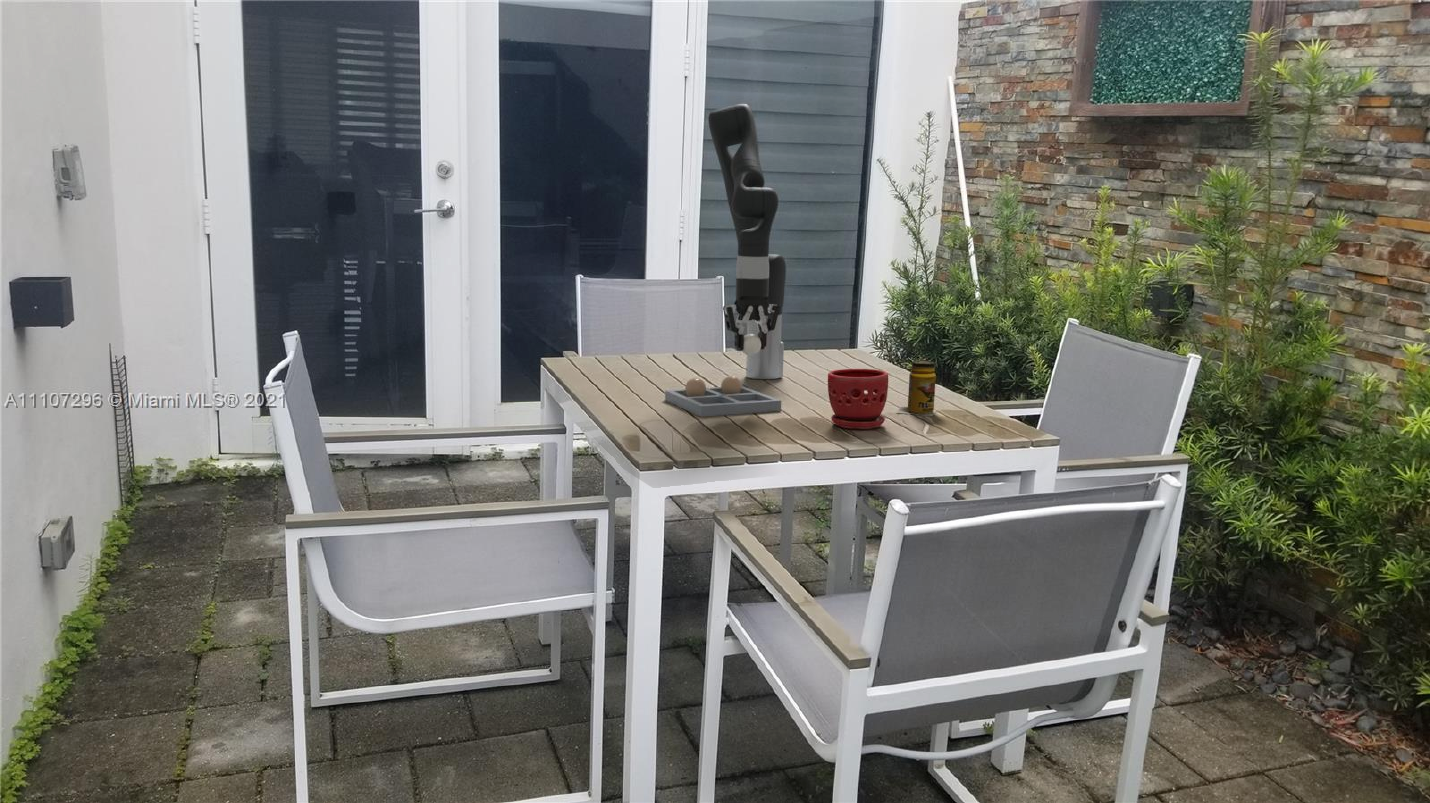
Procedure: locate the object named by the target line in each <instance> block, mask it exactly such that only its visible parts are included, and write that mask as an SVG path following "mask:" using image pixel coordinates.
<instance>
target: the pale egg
mask: <svg viewBox="0 0 1430 803" xmlns="http://www.w3.org/2000/svg"><path fill="white" fill-rule="evenodd" d="M760 349H761V340H760V338H759V337H758V336H756V335H754V334H747V333H746V334H745V335H744V343H743V350H742V351H741V352H742V353H743V354H744V355H746V356H747V355H755V354H757V353H758V352H759V351H760Z"/></svg>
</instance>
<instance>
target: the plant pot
mask: <svg viewBox="0 0 1430 803" xmlns="http://www.w3.org/2000/svg"><path fill="white" fill-rule="evenodd" d="M852 390H854V393H853V394H851V392H852ZM843 391H844V392H843ZM865 391H867V393H866V392H865ZM888 391H889V372H887V371H884V370H880V369H873V368H872V369H871V368H844V369H835V370H831V371H829V372H828V374H827V392H828V399H829V403H830V407H831V409H832V412H833V413H834V414H832V415H831V418H830V419H831V421H832V423H833V424H835V425H836V426H838V427H840V428H844V429H847V430H871V429H877V428H878V427H881V426H882V425H883V424H884V422H885V421H886V418H885V416H884V415H882V412H883V411H884V408H885V405H886V403H887V398H888ZM834 392H835V393H834Z"/></svg>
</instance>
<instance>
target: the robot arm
mask: <svg viewBox="0 0 1430 803" xmlns="http://www.w3.org/2000/svg"><path fill="white" fill-rule="evenodd" d="M708 127H709V128H708V129H709V131H710V132H709V133H710V135H711V139H712V142H713V146H714V150H715V152H716V155H717V160H718V162H719V165H720V169H721V174H722V178H723V183H724V188H725V193H726V197H727V198H726V199H727V202H728V203H727V204H728V207H729V211H730V215H731V219H732V222H733V225H734V230H735V235H736V236H735V237H736V239H737V260H736V273H735V300H734V303H733V304H731V305H723V307H722V310H723V315H724V316H723V317H724V321H725V326H726V330H727V331H730V332H732V333H734V347H735V349H736V350H737V351H740V352H742V350H743V343H744V336H745V335H744V334H743V333H744V331H745V328H746V327H747V331H746V332H747V333H746V335H747V334H754V335H756V336H758V337H759V338H760V340H761V349H760V351H759V352H758V353H757V354H755V355H746V358H745V360H746V363H745V364H746V366H745V376H746V378H749V379H754V380H774V379H779V378H784V357H785V356H784V355H785V354H784V353H785V352H784V350H785V343H784V342H783V341H782V321H783V318H782V317H783V307H784V301H785V300H784V299H785V287H786V278H787V276H786V275H787V265H786V261H785V259H784V256H782V255H781V254H776V253H775V254H774V253H769V252H770V236H771V231H772V227H773V223H774V220H775V217H776V214H777V210H778V208H779V196H778V194H777V191H775V190H774V189H773V187H765V178H764V173H763V170H762V165H761V162H760V155H759V154H760V153H759V140H758V133H757V126H756V120H755V117H754V114H753V111H752V109H751V107H750V106H749V105H748V104H746V103H738V104H735V105H730V106H726V107H722V108H719V109H718V108H717V109H715V110H712V111H710V113H709V115H708ZM735 145H739V147H738V149H737V151H736V152H735V154H734V155H733V154H732V152H731V151H730V149H729V147H731V146H735ZM735 312H737V317H736V320H735V317H734V315H735Z"/></svg>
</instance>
